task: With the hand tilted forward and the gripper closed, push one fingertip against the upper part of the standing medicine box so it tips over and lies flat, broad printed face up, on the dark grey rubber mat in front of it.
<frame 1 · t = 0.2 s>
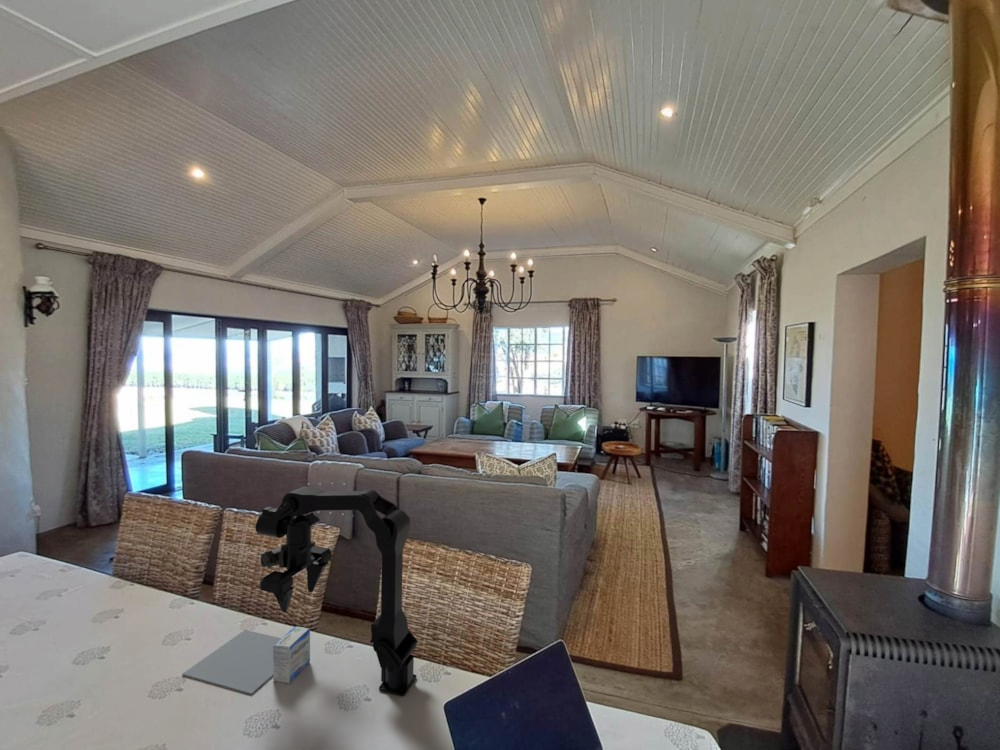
hand: (298, 601, 111), 15 cm above the table, tool pointing down, fingers open, 9 cm apart
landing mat: (248, 659, 111), on the table
medicine box: (292, 672, 108), on the table
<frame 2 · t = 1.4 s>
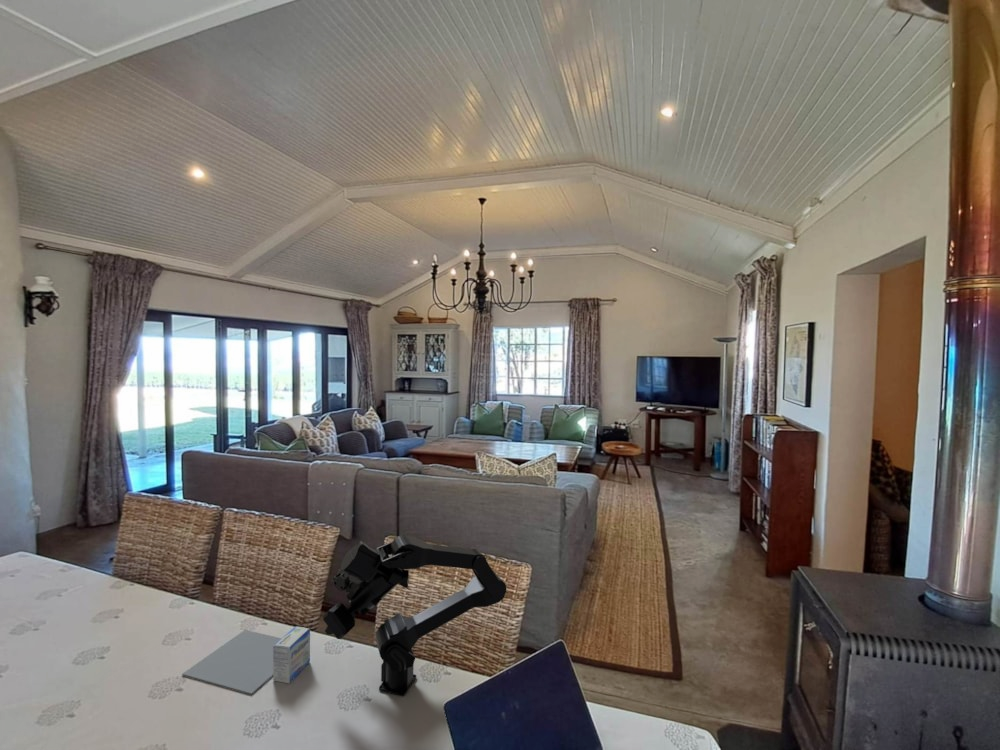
hand: (336, 623, 106), 13 cm above the table, tool tilted 45°, fingers open, 7 cm apart
nothing on the table moved.
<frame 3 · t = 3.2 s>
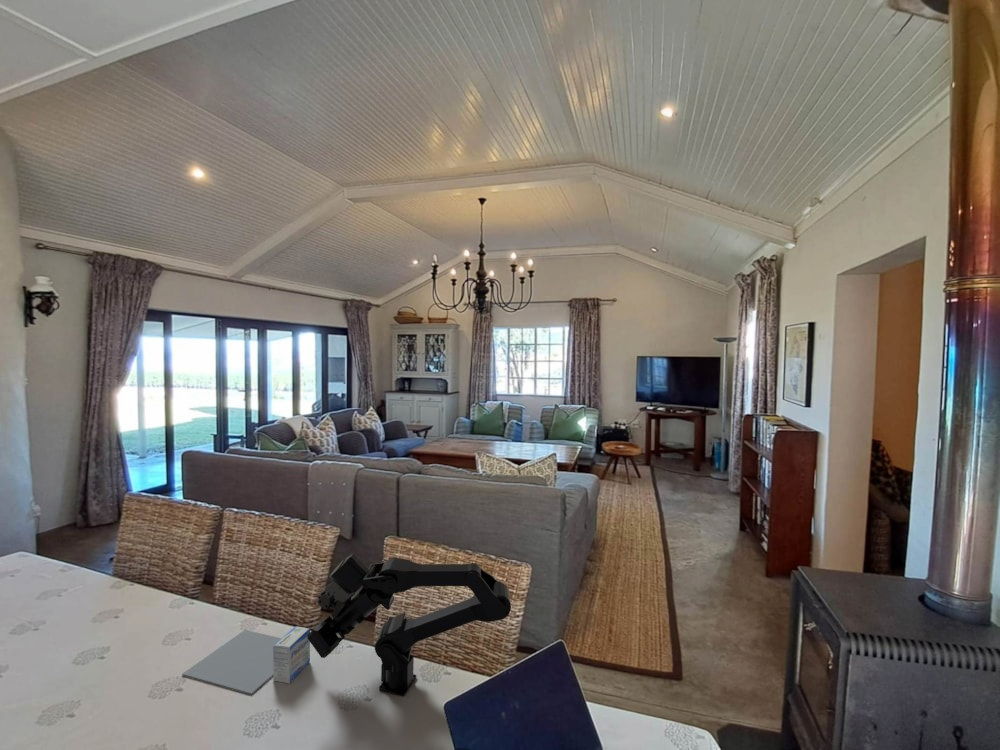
hand: (321, 640, 107), 8 cm above the table, tool tilted 45°, fingers closed
nothing on the table moved.
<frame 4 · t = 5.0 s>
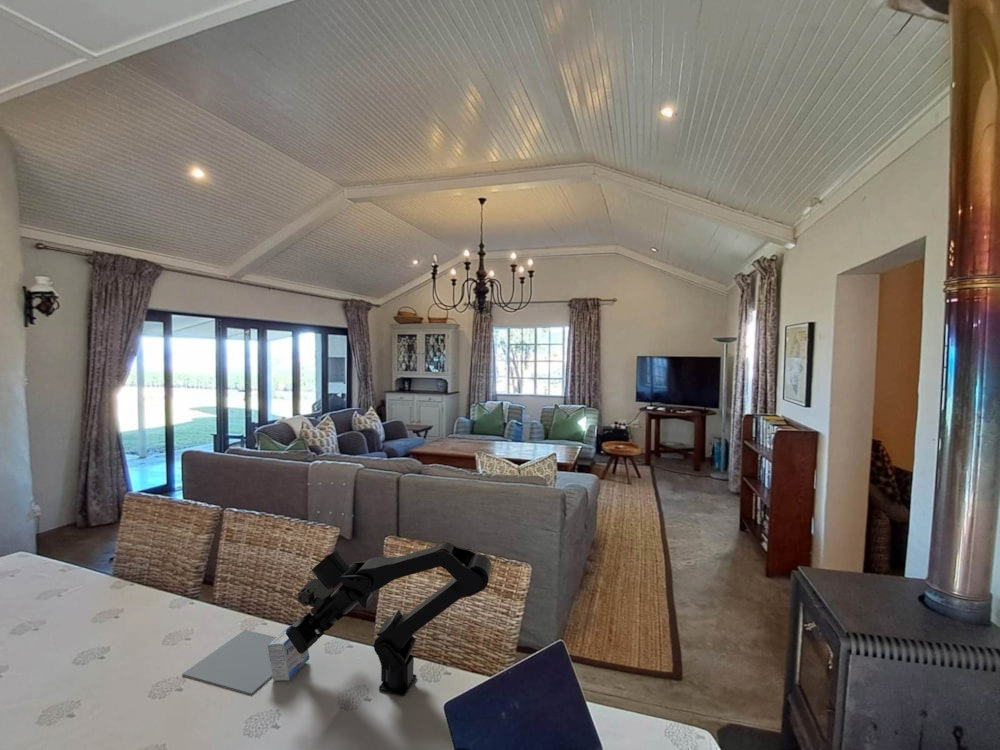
hand: (301, 636, 109), 7 cm above the table, tool tilted 45°, fingers closed
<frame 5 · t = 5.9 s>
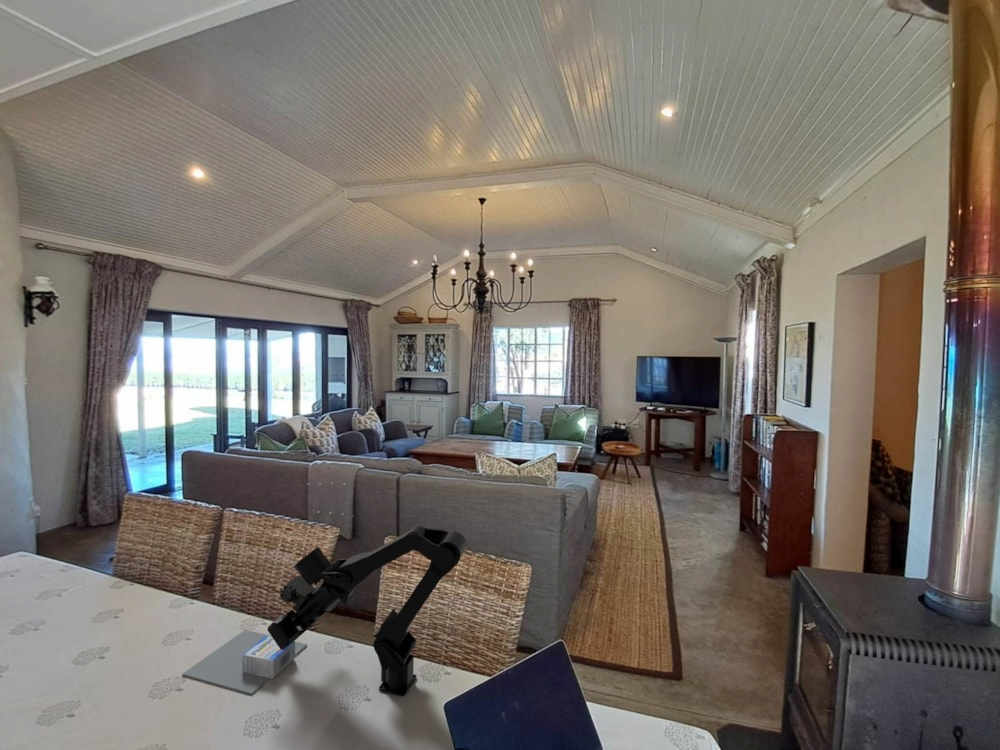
hand: (284, 633, 110), 7 cm above the table, tool tilted 45°, fingers closed
medicine box: (285, 659, 108), point 3 cm above the table, touching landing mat
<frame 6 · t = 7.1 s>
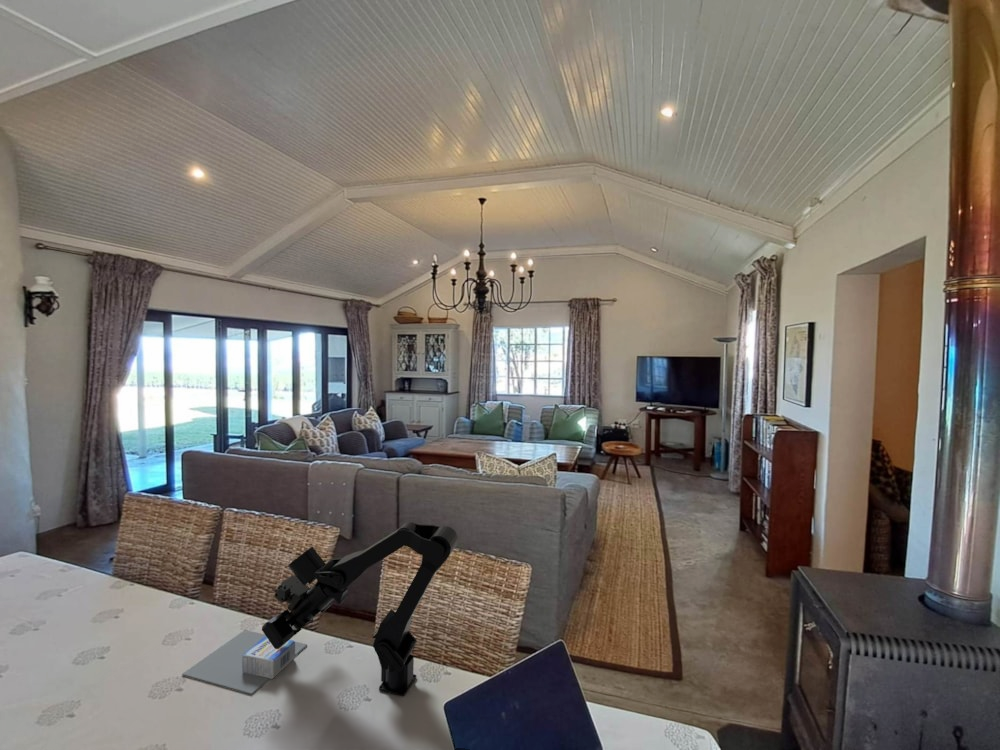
hand: (279, 633, 111), 7 cm above the table, tool tilted 45°, fingers closed
nothing on the table moved.
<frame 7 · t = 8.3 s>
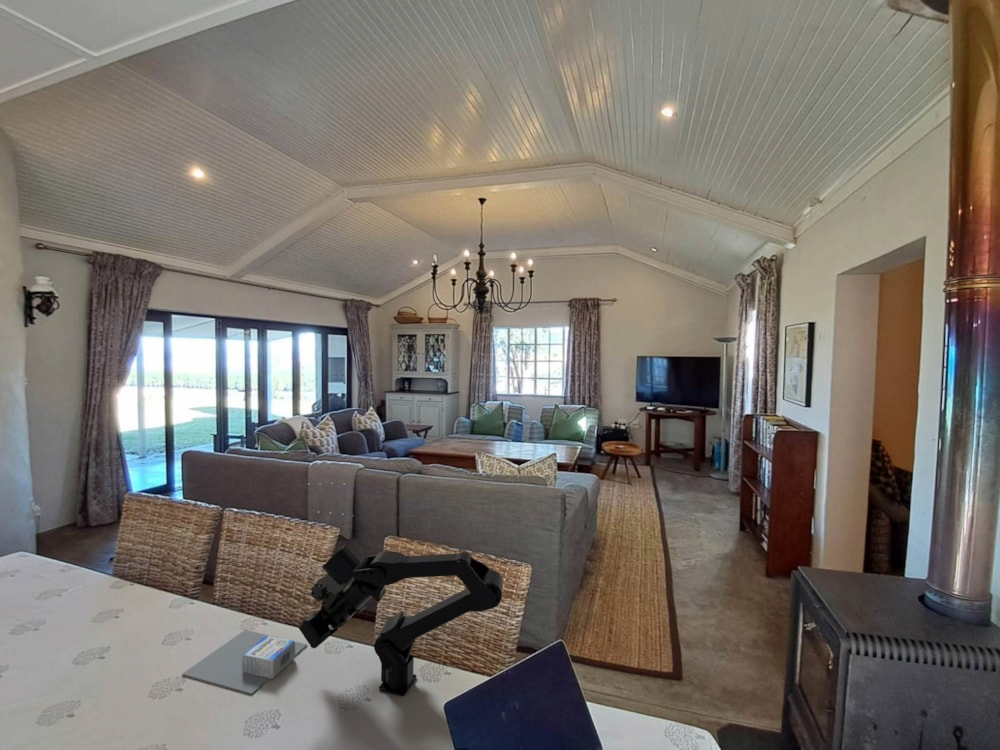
hand: (315, 633, 108), 9 cm above the table, tool tilted 45°, fingers closed
nothing on the table moved.
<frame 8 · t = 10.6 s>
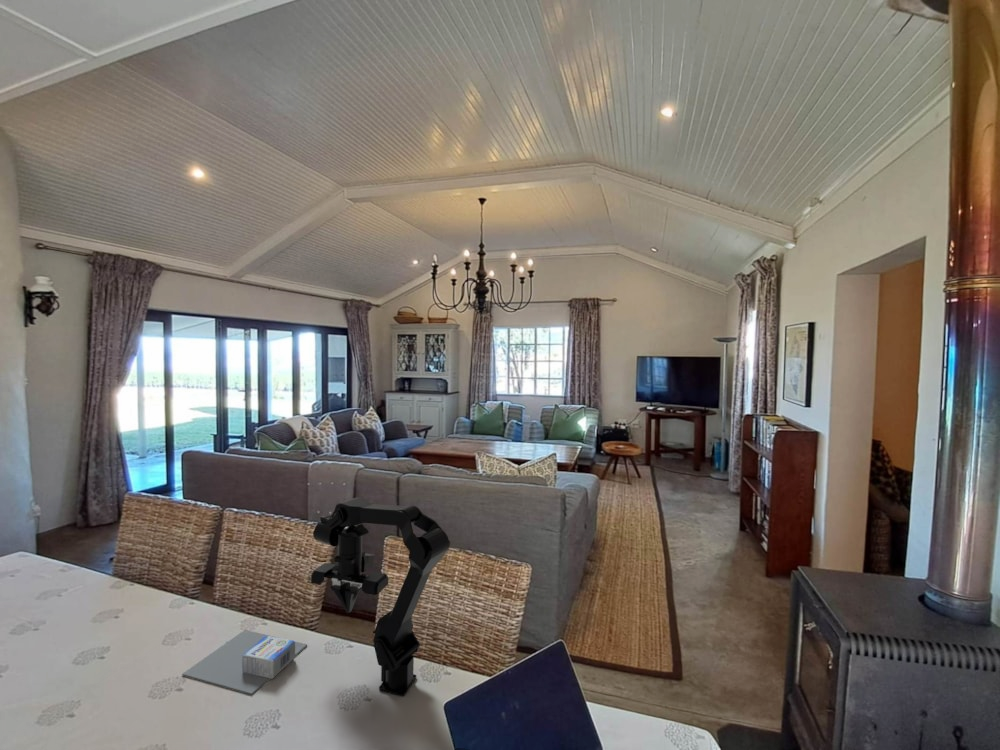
hand: (349, 611, 112), 12 cm above the table, tool pointing down, fingers closed
nothing on the table moved.
at the end: medicine box tilted 89°; medicine box touching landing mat; medicine box inside the target area (1.3 cm from its centre), point 2.6 cm above the table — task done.
